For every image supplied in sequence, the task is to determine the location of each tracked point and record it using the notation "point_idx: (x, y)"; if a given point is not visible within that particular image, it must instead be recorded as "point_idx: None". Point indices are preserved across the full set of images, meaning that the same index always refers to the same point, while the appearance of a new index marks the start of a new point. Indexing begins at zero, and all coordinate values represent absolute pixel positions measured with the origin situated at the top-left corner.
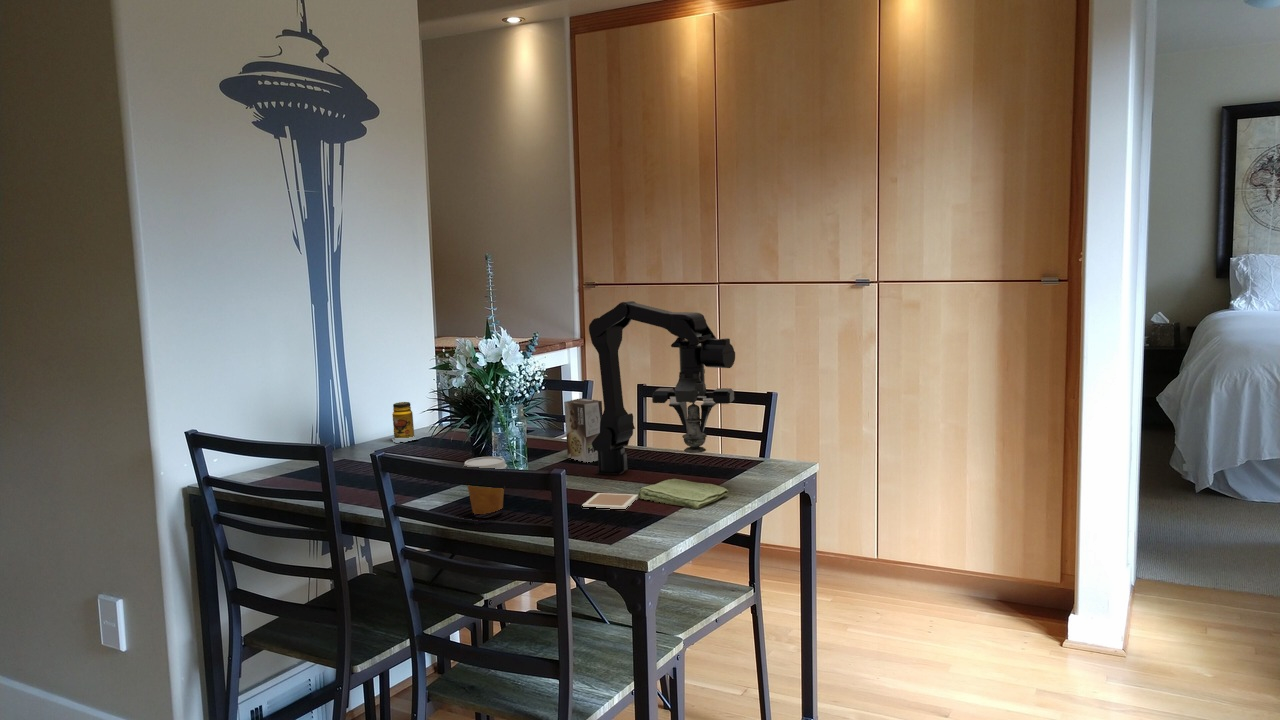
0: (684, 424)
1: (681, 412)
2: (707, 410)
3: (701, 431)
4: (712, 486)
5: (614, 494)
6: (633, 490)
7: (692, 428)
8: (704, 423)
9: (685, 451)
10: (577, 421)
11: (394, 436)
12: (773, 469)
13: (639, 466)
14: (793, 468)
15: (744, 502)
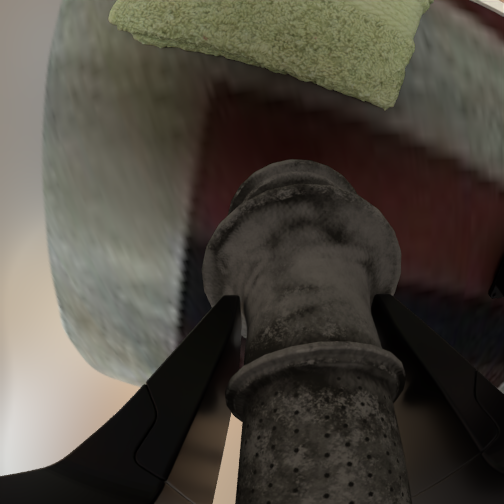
0: (415, 332)
1: (496, 435)
2: (55, 471)
3: (233, 295)
4: (164, 13)
5: (499, 4)
6: (473, 73)
7: (320, 289)
8: (177, 347)
9: (349, 183)
10: None
11: None
12: (121, 334)
13: (460, 322)
14: (90, 339)
15: (68, 2)
